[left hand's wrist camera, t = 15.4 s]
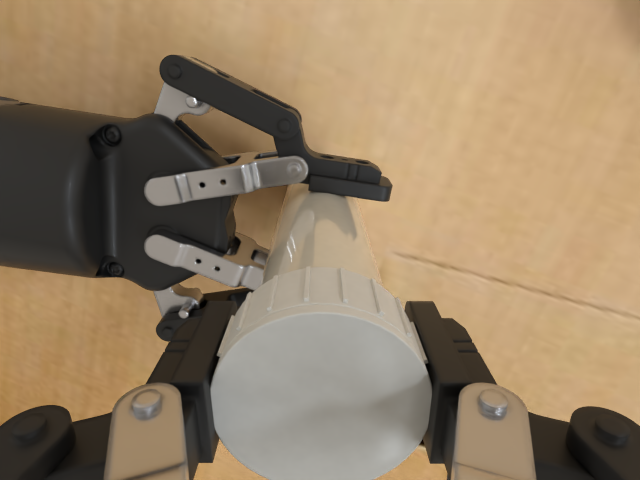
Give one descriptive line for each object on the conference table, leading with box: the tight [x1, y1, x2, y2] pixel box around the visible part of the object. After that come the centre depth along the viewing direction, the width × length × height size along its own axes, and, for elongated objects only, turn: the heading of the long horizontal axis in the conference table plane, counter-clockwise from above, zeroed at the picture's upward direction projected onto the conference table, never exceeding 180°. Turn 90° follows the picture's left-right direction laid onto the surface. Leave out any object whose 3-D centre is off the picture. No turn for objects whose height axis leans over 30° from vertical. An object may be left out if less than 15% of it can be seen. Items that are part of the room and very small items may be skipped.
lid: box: [210, 266, 432, 480], centre depth 10 cm, size 5×5×2 cm
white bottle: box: [259, 183, 384, 288], centre depth 18 cm, size 4×4×18 cm
